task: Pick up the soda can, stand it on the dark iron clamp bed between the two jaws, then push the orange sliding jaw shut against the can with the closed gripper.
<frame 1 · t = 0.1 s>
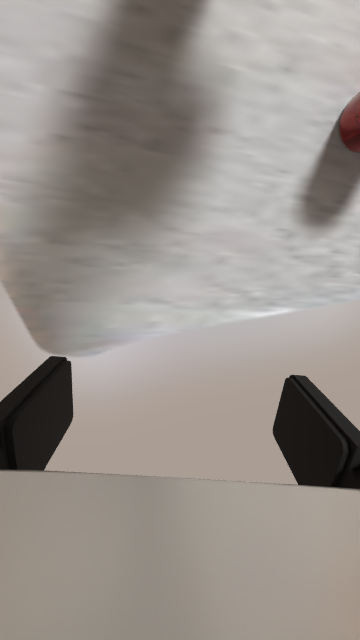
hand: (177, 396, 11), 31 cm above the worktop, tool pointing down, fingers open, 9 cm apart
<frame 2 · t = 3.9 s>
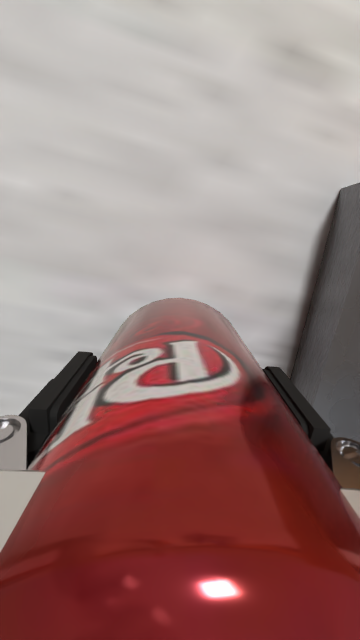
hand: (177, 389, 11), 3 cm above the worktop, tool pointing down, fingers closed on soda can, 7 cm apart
soda can: (176, 355, 14), on the worktop, touching gripper
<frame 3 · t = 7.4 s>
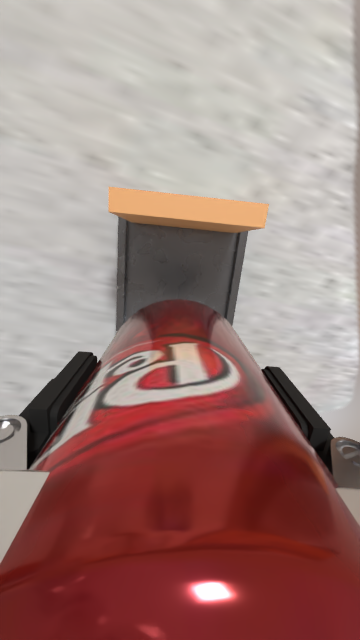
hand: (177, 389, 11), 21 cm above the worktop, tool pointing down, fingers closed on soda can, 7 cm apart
sliding jaw: (186, 215, 22), point 7 cm above the worktop, slide at 4.0 cm
soda can: (176, 356, 14), point 18 cm above the worktop, touching gripper
clamp bed: (178, 283, 31), on the worktop
when the fingers open (6 cm above the worktop, at t = 10.7 s): soda can stays where it is, resting on clamp bed.
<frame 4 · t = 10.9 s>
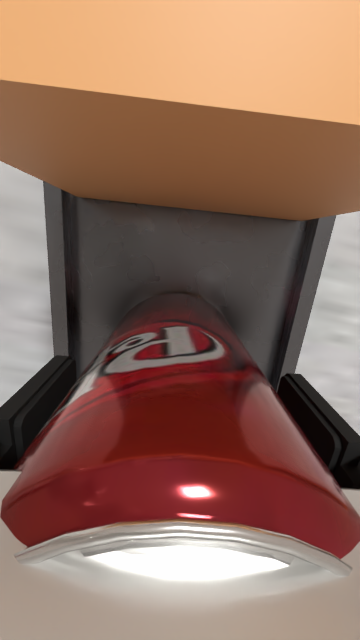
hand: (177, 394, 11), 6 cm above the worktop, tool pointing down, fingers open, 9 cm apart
sliding jaw: (204, 160, 8), point 7 cm above the worktop, slide at 4.0 cm
soda can: (174, 348, 15), point 1 cm above the worktop, touching clamp bed
clamp bed: (179, 320, 16), on the worktop
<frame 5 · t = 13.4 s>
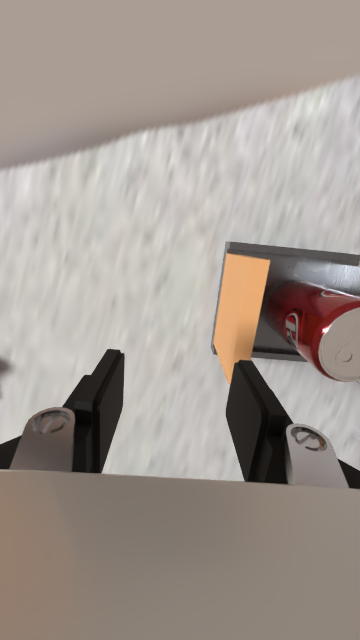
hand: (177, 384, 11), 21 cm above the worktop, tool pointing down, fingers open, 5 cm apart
sliding jaw: (234, 311, 26), point 7 cm above the worktop, slide at 4.0 cm
soda can: (291, 307, 31), point 1 cm above the worktop, touching clamp bed
clamp bed: (277, 303, 32), on the worktop
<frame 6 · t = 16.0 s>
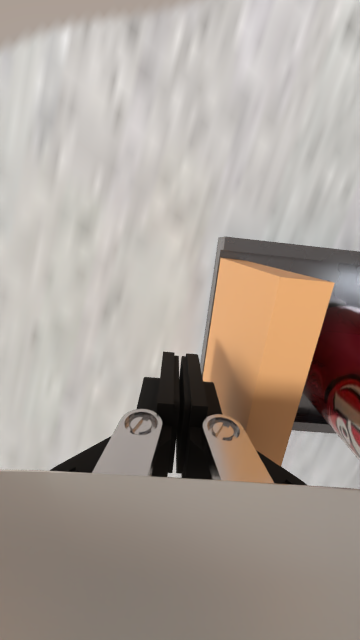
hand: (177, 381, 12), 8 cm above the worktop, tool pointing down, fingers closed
sliding jaw: (234, 371, 13), point 7 cm above the worktop, slide at 3.9 cm, touching gripper
soda can: (327, 348, 19), point 1 cm above the worktop, touching clamp bed
clamp bed: (302, 338, 20), on the worktop
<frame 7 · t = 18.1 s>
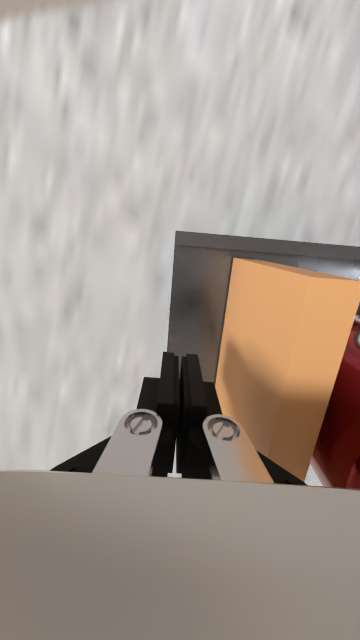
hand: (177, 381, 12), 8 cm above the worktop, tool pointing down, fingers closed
sliding jaw: (252, 371, 13), point 7 cm above the worktop, slide at 0.0 cm
soda can: (292, 342, 19), point 1 cm above the worktop, touching clamp bed
clamp bed: (268, 332, 20), on the worktop
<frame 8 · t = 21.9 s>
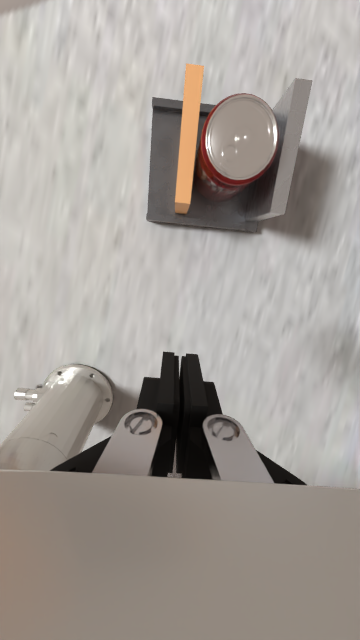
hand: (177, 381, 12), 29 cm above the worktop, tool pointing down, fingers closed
sliding jaw: (186, 155, 28), point 7 cm above the worktop, slide at 0.0 cm
soda can: (218, 174, 34), point 1 cm above the worktop, touching clamp bed
clamp bed: (207, 174, 35), on the worktop
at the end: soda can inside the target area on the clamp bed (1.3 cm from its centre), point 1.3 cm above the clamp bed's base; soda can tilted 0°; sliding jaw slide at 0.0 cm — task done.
